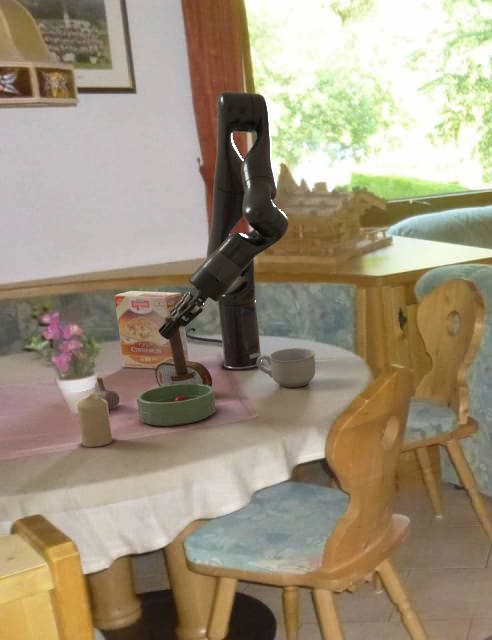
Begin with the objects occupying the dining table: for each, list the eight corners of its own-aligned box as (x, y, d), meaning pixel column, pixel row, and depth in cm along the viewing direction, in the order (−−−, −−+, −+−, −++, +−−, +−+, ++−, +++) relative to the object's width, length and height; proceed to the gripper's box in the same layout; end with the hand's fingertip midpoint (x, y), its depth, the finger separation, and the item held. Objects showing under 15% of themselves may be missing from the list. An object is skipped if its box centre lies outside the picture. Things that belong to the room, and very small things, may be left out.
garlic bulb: (104, 416, 229) (100, 382, 227) (78, 413, 231) (73, 379, 229) (129, 406, 236) (125, 373, 234) (103, 404, 238) (98, 371, 236)
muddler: (166, 379, 225) (153, 318, 221) (188, 372, 229) (176, 312, 225) (177, 382, 222) (164, 320, 218) (199, 376, 226) (187, 315, 222)
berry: (176, 407, 234) (180, 395, 235) (187, 410, 234) (191, 399, 234) (169, 405, 231) (173, 393, 232) (180, 408, 231) (184, 397, 231)
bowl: (129, 416, 229) (126, 393, 228) (198, 402, 240) (195, 379, 238) (156, 432, 218) (153, 407, 217) (227, 416, 229) (225, 392, 228)
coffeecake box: (122, 367, 270) (112, 295, 265) (139, 360, 276) (130, 290, 271) (174, 370, 267) (165, 297, 262) (190, 363, 274) (181, 291, 269)
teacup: (324, 379, 259) (321, 348, 257) (306, 391, 249) (303, 359, 247) (271, 377, 260) (268, 347, 258) (251, 389, 250) (248, 357, 248)
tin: (214, 396, 244) (211, 362, 242) (205, 399, 242) (201, 365, 239) (165, 390, 249) (160, 356, 247) (155, 393, 246) (151, 360, 244)
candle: (89, 438, 214) (83, 393, 212) (116, 438, 215) (110, 392, 212) (78, 447, 209) (71, 401, 206) (106, 446, 209) (99, 400, 207)
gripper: (197, 259, 228) (143, 319, 225) (208, 269, 217) (152, 331, 214) (224, 280, 232) (172, 339, 229) (236, 291, 221) (182, 353, 218)
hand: (163, 335), depth 221 cm, fingers closed on muddler, 2 cm apart
